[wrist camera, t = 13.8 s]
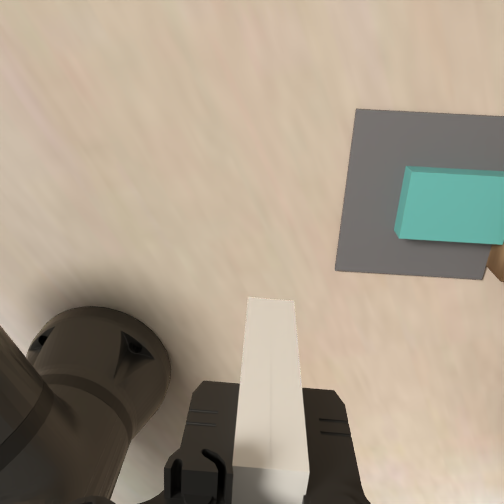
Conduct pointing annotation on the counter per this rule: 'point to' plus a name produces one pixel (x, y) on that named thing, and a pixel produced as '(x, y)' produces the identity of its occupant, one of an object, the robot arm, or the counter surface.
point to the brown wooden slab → (496, 261)
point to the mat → (390, 184)
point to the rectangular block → (451, 205)
